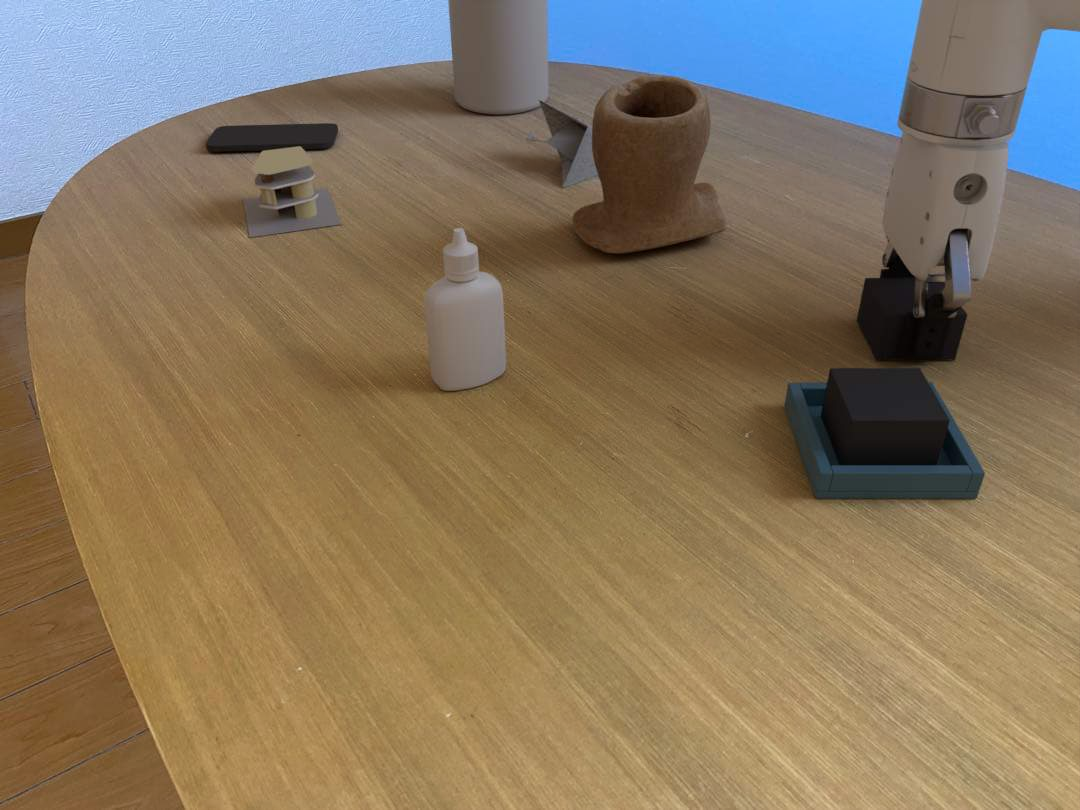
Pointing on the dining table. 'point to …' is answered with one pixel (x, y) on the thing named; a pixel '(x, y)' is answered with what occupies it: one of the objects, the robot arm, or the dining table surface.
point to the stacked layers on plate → (287, 195)
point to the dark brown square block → (883, 417)
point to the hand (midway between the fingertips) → (905, 333)
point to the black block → (898, 316)
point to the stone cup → (650, 167)
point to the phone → (272, 137)
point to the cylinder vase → (499, 54)
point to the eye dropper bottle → (465, 321)
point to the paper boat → (570, 144)
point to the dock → (830, 480)
